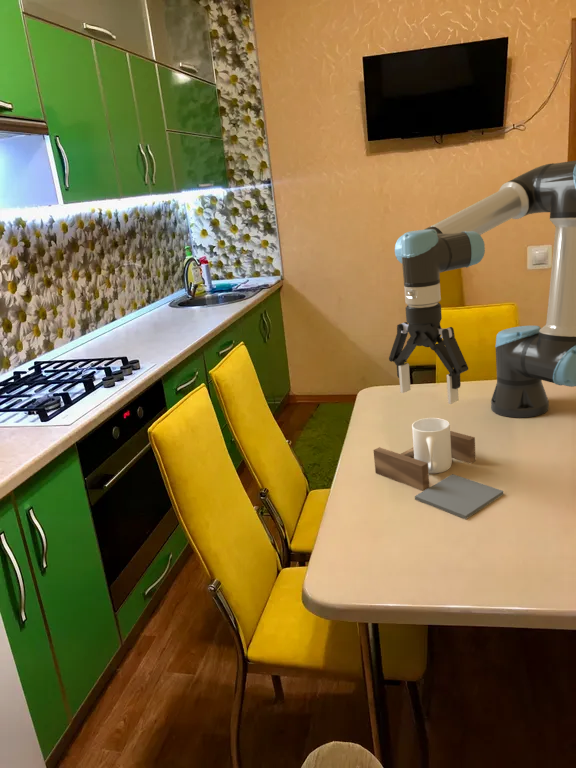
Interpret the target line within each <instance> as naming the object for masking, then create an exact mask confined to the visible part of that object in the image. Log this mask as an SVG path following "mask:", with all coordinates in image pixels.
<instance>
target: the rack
mask: <svg viewBox="0 0 576 768" xmlns="http://www.w3.org/2000/svg"><path fill="white" fill-rule="evenodd" d="M450 437H451V456H452V459H454V460H458V461H460V462H461V461H462V462H464V463H468V464H473V463H474V462H475V461H476V458H477V457H476V439H475V436H472V435H468V434H463V433H460V432H458V431H457V432H456V431H452V430H450ZM373 460H374V468H375V469H374V470H375V474H377V475H379V476H382V477H385V478H388V479H390V480H393V481H396V482H398V483H402V484H403V485H406V486H409V487H412V488H414V489H417V490H420V491H421V492H423V491H424V490H426V489H428V488H430V477H429V475H430V473H428V463H426V462H423V461H420V460H417V459H414V447H411V448H409V449H407V450H405V451H403V452H401V453H398V452H395V451H392V450H389V449H386V448H384V447H380V446H379V447H377V448H375V449H373Z"/></svg>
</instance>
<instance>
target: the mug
mask: <svg viewBox="0 0 576 768" xmlns="http://www.w3.org/2000/svg"><path fill="white" fill-rule="evenodd" d="M411 429H412V445H413V447H414V456H413V458H414V459H417V460H420V461H423V462H426V463H428V474H440V473H445V472H446V471H448V470H449V469H450V468H451V467H452V463H453V462H452V459H453V458H452V456H451V437H450V431H451V425H450V421H448V420H447V419H443V418H438V417H426V418H420V419H418V420H415V421H414V422H413V423H412V424H411ZM413 447H412V448H413Z"/></svg>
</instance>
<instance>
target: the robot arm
mask: <svg viewBox="0 0 576 768" xmlns="http://www.w3.org/2000/svg"><path fill="white" fill-rule="evenodd" d="M539 213H541V214H543V213H549V222H551V223H552V224H553V225H554V226H555V229H554V230H555V231H554V238H553V240H554V241H553V248H552V249H553V250H552V261H551V272H550V280H549V281H550V282H549V292H548V304H547V311H546V312H547V314H546V323H545V325H543V327H541V326H539V325H522V326H521V325H520V326H515V327H510V328H506V329H502V330H501V331H498V333H497V334H496V338H495V346H494V347H495V361H496V362H495V366H496V384H495V388H494V391H493V393H492V397H491V400H490V406H491V407H490V409H491V411H492V412H493V413H495V414H496V415H500V416H504V417H507V418H517V419H518V418H521V419H522V418H532V417H537V416H540V415H544V414H545V413H547V412H548V411H549V398H548V395H547V393H546V392H547V391H546V389H545V387H544V385H543V381H544V382H547V383H551V384H555V385H557V386H565V387H571V388H574V387H576V160H572V161H569V160H568V161H564V162H557V163H553V162H552V163H547V164H543V165H540V166H537V167H535V168H532V169H530V170H528V171H526V172H524V173H523V174H520V175H518V176H517V177H515V178H513V179H511V180H509V181H507V182H505V183H503V184H502V185H501V186H500V187H499V190H498V191H496V192H494V193H492V194H490V195H489V196H486V197H485V198H483V199H481V200H479V201H476V202H475V203H473V204H471V205H470V206H467V207H465V208H464V209H461V210H460V211H458V212H456V213H453V214H451V215H450V216H448V217H446V218H445V219H442V220H440V221H438V222H436V223H435V224H432V225H431V226H429V227H426V228H424V229H418V230H411V231H407V232H405V233H403V234H402V235H401V236H399V237H398V239H397V240H396V243H395V245H394V255H395V258H396V259H397V261H398V262H399V263H400V264H402V275H403V288H404V302H405V305H406V306H405V318H406V320H405V321H404V322H402V323H399V324H397V326H396V335H395V338H394V342H393V345H392V347H391V351H390V353H389V357H388V360H389V362H393V363H394V364H395V365H396V374H397V378H398V379H399V389H400V390H399V391H400V393H401V394H404V393H407V392H409V391H411V389H412V388H411V378H410V377H411V375H410V364H409V363H408V359H409V358H410V356H411V355H412V353H413V352H414V350H415V349H416V347H425V348H430V349H431V351H434V353H435V355H437V357H438V358H439V360H440V361H441V363H442V364H443V366H444V368H445V369H446V370H447V371H448V374H446V389H447V391H446V392H447V403H448V405H452V404H454V403H456V402H458V401H460V400H459V399H460V398H459V397H460V396H459V388H461V374H462V373H464V372H467V371H469V365H468V364H467V362H466V360H465V357H464V354H463V352H462V350H461V348H460V346H459V344H458V342H457V340H456V337H455V330H454V327H452V326H450V327H447V328H442V325H441V322H442V317H443V316H442V305H441V303H440V302H441V301H442V297H441V295H442V294H441V282H440V281H441V278H440V277H441V275H440V274H441V273H443V272H448V271H453V270H457V269H462V268H463V269H465V268H466V269H467V268H469V267H473V266H475V265H477V264H479V263H480V262H481V261H482V260H483V258H484V257H485V253H486V250H485V249H486V247H485V245H486V244H485V241H484V239H483V237H482V236H481V235H483V234H485V233H486V232H487V233H488V232H489V231H490V230H492V229H495V228H496V227H499V226H500V225H502V224H504V223H505V222H507V221H510V220H511V219H513V220H519V219H522V218H524V217H526V216H528V215H529V216H530V215H533V214H539ZM408 335H409V336H410V337H409V338H408ZM407 338H408V339H407ZM406 340H407V341H406Z"/></svg>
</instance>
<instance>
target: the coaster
mask: <svg viewBox="0 0 576 768" xmlns="http://www.w3.org/2000/svg"><path fill="white" fill-rule="evenodd" d="M503 495H504V490H501V489H499V488H495V487H492V486H490V485H487V484H484V483H480V482H478V481H474V480H472V479H469V478H465V477H462V476H461V475H460V476H459V475H456V474H453V473H452V474H450V475H449V476H446V477H445V478H443V479H442V480H440V481H438V482H436V483H435V484H433V485H432V486H429V488H428V489H426V490H424V491H421V492H419V493H418V494H416V495H415V496H414V500H416V501H418V502H420V503H423V504H426V505H428V506H431V507H433V508H436V509H439V510H440V511H441V510H442V511H443V512H446V513H449V514H451V515H454V516H456V517H458V518H461V519H464V520H467V519H468V518H470V517H472V516H473V515H474V514H476V513H478V512H479V511H480V510H482V509H484V508H485V507H486V506H488V505H490V504H491V503H492V502H494V501H496V500H497V499H499V498H500V497H502V496H503Z"/></svg>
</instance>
